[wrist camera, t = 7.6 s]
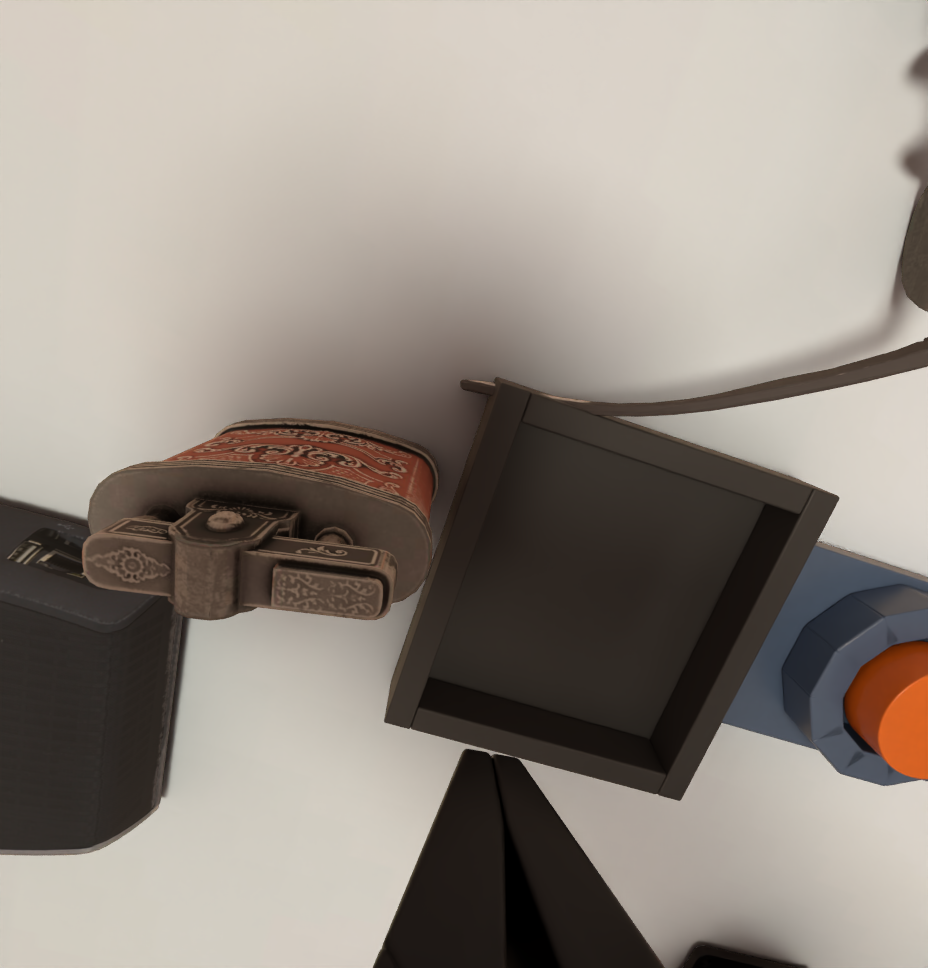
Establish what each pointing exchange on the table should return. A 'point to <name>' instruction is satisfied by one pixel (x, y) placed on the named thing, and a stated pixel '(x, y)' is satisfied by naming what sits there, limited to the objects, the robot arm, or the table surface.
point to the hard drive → (77, 694)
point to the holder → (599, 593)
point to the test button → (893, 706)
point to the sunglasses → (923, 284)
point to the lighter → (270, 522)
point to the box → (830, 656)
